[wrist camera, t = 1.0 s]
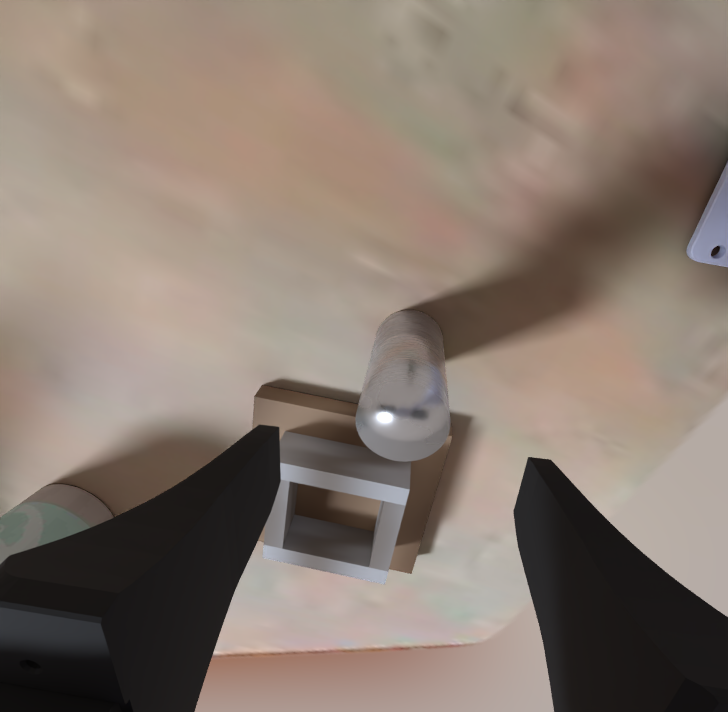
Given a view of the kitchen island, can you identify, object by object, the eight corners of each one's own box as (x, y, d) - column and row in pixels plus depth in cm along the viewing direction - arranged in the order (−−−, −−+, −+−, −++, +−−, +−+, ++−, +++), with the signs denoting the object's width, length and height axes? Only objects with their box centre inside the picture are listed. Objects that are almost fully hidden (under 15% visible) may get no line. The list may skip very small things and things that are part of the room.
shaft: (450, 317, 21) (460, 392, 14) (434, 377, 22) (438, 469, 16) (382, 304, 21) (363, 373, 15) (371, 364, 22) (349, 451, 16)
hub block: (451, 422, 23) (455, 468, 20) (411, 556, 27) (410, 612, 24) (262, 385, 23) (236, 423, 20) (253, 522, 28) (230, 572, 25)
